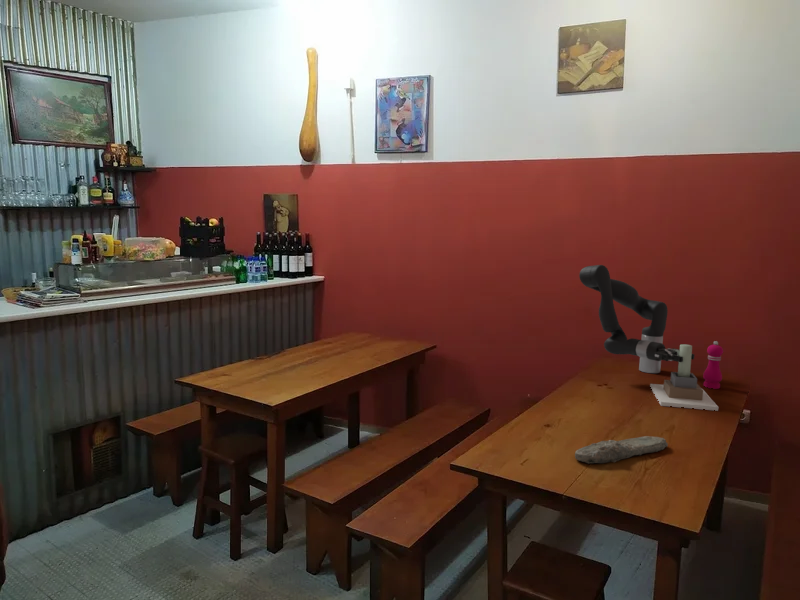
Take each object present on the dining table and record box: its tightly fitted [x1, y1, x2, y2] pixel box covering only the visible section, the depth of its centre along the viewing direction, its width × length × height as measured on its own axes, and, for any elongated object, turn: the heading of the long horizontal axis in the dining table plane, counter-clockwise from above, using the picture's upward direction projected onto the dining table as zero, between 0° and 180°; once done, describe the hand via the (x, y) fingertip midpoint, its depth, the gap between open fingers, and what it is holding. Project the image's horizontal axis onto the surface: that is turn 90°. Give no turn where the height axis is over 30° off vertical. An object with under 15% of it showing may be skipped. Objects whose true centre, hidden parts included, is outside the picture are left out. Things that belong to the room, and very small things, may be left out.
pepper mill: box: [702, 340, 724, 390], centre depth 255 cm, size 7×7×20 cm
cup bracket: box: [649, 371, 719, 412], centre depth 239 cm, size 26×20×10 cm
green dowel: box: [677, 343, 693, 378], centre depth 238 cm, size 4×4×16 cm
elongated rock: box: [574, 435, 669, 464], centre depth 182 cm, size 35×5×10 cm
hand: (688, 358), depth 236 cm, fingers open, 8 cm apart
